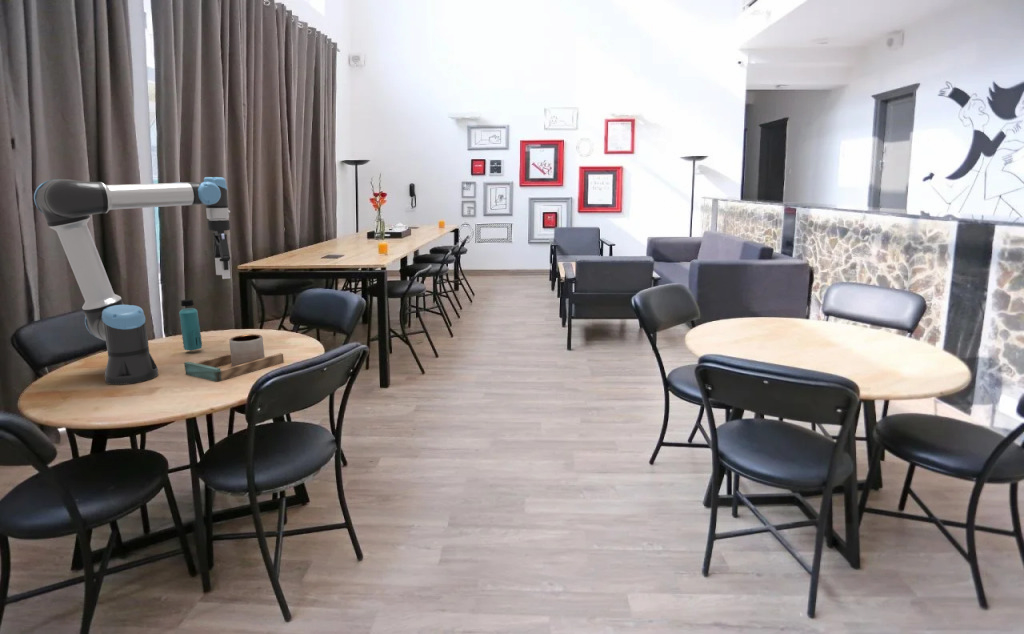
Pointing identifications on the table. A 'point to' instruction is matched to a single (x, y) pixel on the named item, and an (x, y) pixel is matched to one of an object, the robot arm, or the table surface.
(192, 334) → the beverage bottle
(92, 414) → the table surface
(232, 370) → the bay
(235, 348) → the planter
